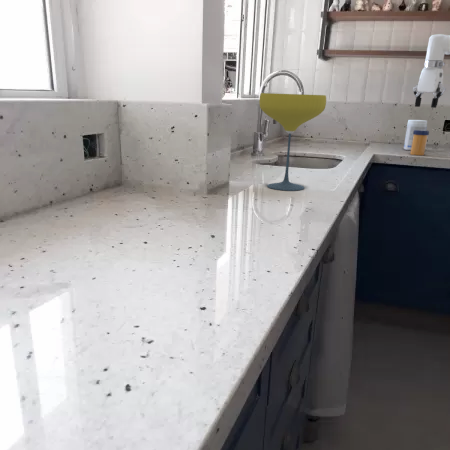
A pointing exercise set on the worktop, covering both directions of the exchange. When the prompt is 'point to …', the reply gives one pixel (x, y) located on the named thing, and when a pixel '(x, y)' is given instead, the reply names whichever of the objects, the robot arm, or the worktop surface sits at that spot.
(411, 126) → the supplement tub
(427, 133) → the jar lid
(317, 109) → the cocktail glass
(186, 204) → the worktop surface
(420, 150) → the honey jar
